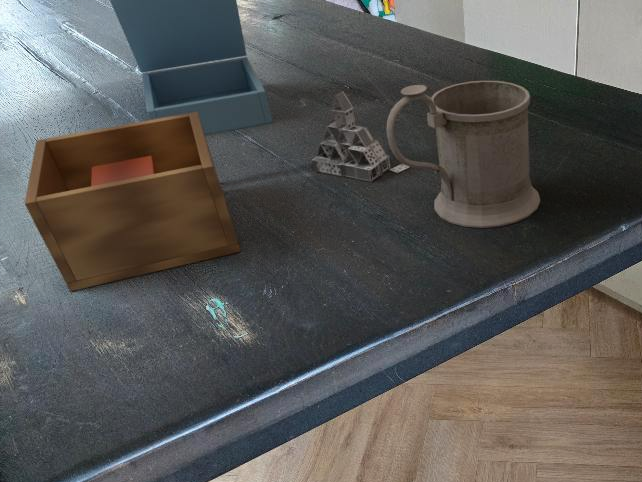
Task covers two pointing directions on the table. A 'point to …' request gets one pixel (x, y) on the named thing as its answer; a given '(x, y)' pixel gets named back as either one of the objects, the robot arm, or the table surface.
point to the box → (209, 95)
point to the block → (123, 170)
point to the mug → (477, 151)
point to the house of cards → (351, 147)
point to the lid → (180, 31)
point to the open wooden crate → (129, 202)
